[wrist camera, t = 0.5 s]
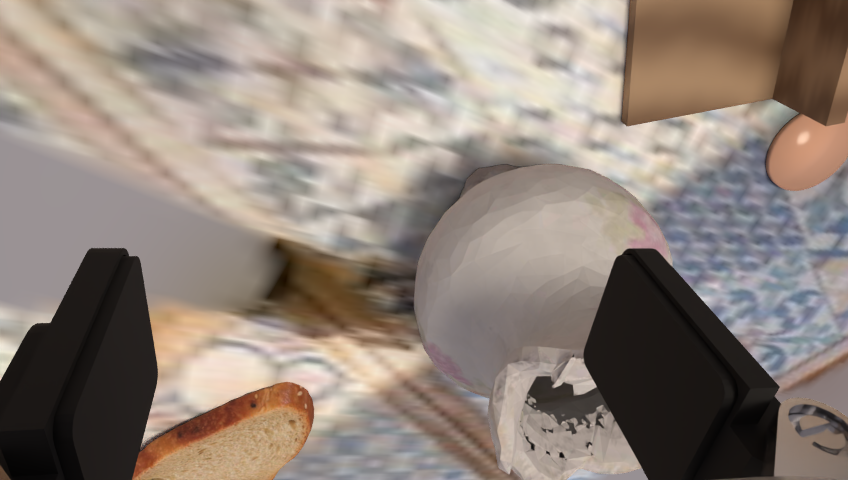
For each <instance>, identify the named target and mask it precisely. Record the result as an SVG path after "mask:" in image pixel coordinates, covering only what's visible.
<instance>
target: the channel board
mask: <svg viewBox="0 0 848 480" xmlns="http://www.w3.org/2000/svg"><path fill="white" fill-rule="evenodd" d="M768 99H774V100H776V101H778V102H780V103H782V104H784V105H786V106H787V107H789V108H791V109H793V110H795V111H797V112H799V113H801V114H803V115H805V116H807V117H809V118H811V119H813V120H815V121H816V122H818V123H820V124H822V125H824V126H831V125H836V124H841V123H845V120H846V117H847V113H848V0H630V9H629V23H628V37H627V51H626V66H625V80H624V94H623V108H622V122H623V123H624V124H625V125H626V126H632V125H637V124H642V123H647V122H652V121H658V120H663V119H668V118H673V117H679V116H684V115H689V114H694V113H700V112H705V111H710V110H715V109H721V108H726V107H731V106H736V105H742V104H747V103H752V102H757V101H763V100H768Z"/></svg>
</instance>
